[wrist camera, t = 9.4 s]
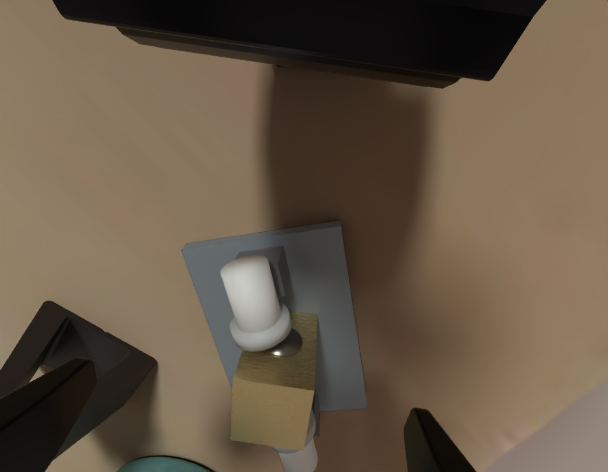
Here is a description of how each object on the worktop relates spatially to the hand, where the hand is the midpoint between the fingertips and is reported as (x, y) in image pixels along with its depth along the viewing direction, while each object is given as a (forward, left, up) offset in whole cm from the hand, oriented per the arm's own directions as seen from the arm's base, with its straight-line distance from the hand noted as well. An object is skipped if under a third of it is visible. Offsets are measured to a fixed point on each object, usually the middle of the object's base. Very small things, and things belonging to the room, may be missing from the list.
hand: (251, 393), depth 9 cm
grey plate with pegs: (+7, -2, -12) cm, 14 cm away
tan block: (+7, -2, -11) cm, 13 cm away
